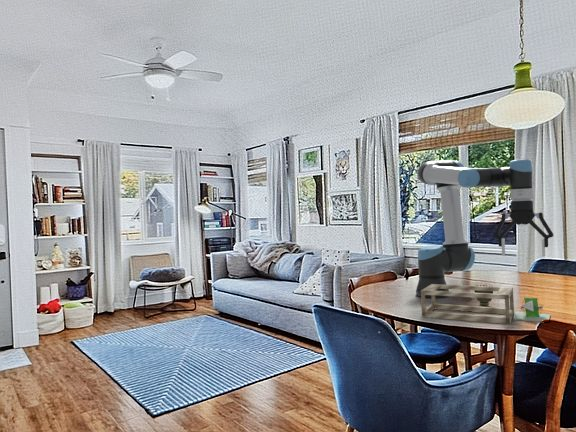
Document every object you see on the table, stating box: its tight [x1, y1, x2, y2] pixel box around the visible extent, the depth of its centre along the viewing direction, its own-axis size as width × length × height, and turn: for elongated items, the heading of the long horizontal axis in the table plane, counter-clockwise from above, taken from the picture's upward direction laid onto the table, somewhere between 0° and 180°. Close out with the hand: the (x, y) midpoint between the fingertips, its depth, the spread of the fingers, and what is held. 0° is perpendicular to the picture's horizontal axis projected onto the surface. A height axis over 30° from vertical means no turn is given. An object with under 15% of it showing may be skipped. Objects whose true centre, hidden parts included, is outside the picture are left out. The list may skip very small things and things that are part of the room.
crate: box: [420, 284, 515, 325], centre depth 164 cm, size 30×16×10 cm, turn 58°
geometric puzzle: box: [520, 297, 544, 317], centre depth 156 cm, size 7×7×8 cm
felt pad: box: [512, 311, 551, 323], centre depth 156 cm, size 11×11×1 cm
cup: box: [473, 284, 494, 307], centre depth 179 cm, size 8×7×8 cm
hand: (523, 255), depth 166 cm, fingers open, 13 cm apart
